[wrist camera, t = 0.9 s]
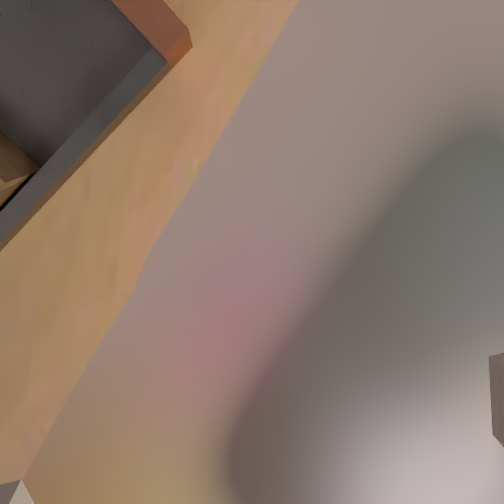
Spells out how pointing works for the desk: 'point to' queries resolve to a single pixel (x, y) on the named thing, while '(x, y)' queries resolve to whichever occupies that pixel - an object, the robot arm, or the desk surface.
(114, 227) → the desk surface
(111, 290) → the desk surface
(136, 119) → the desk surface
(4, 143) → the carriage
